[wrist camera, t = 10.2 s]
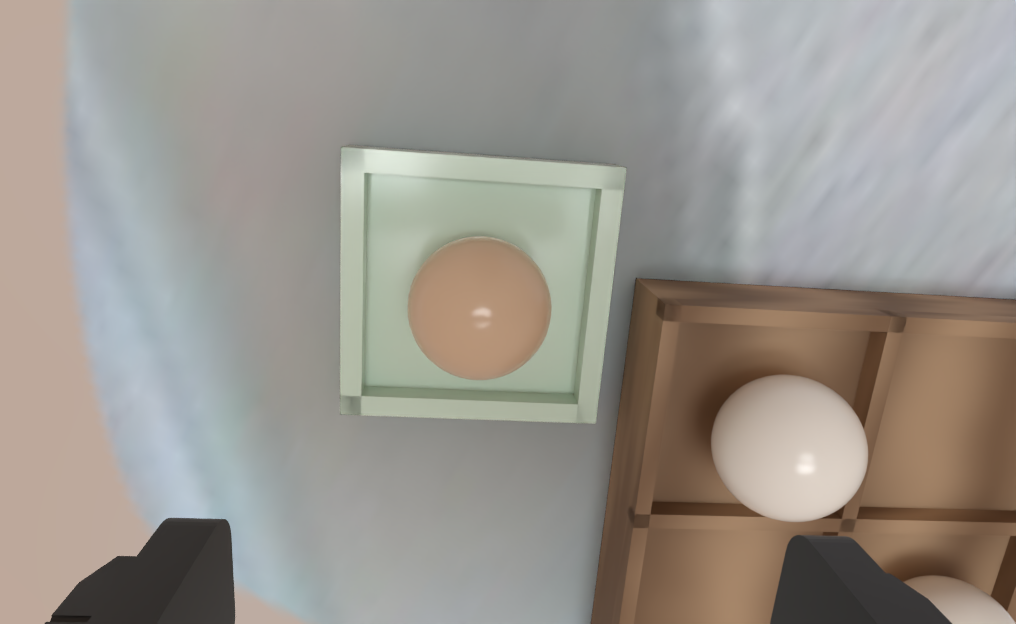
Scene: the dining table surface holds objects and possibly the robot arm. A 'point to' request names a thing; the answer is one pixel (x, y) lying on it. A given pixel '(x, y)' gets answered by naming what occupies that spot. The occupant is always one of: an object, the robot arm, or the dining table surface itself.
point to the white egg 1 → (789, 448)
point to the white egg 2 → (960, 600)
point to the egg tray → (874, 398)
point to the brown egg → (479, 308)
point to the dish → (465, 213)
